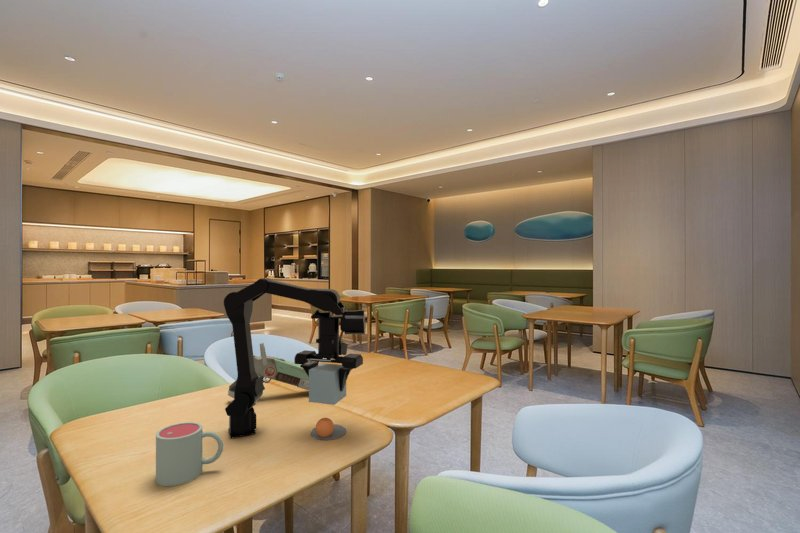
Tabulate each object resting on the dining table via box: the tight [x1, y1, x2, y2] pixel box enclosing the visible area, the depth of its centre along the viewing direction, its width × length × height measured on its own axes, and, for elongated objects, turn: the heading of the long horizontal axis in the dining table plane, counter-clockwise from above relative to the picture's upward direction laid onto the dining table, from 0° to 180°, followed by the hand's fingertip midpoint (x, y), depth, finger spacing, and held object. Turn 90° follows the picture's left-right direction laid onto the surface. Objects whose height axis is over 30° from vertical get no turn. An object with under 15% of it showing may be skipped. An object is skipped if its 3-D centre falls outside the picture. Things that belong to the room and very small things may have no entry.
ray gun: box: [227, 342, 309, 399], centre depth 143 cm, size 7×32×20 cm, turn 112°
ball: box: [314, 417, 335, 437], centre depth 110 cm, size 5×5×5 cm
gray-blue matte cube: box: [308, 362, 347, 406], centre depth 112 cm, size 8×8×9 cm
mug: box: [155, 421, 224, 487], centre depth 90 cm, size 14×9×10 cm
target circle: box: [310, 423, 347, 441], centre depth 113 cm, size 10×10×1 cm
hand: (328, 389), depth 113 cm, fingers closed on gray-blue matte cube, 8 cm apart
